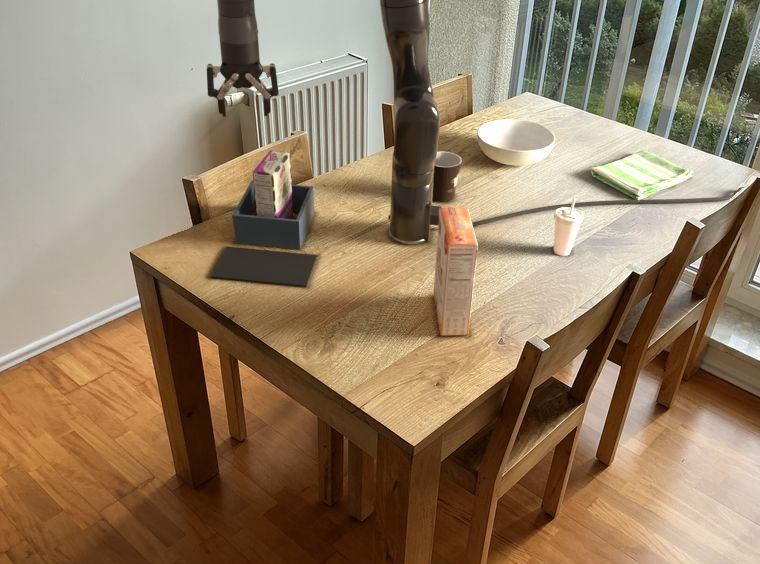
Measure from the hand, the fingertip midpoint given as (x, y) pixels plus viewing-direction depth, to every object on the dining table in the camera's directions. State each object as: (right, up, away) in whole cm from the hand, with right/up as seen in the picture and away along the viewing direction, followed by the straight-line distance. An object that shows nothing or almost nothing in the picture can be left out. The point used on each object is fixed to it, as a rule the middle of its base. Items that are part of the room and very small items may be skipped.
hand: (245, 115), depth 169 cm
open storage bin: (+4, -21, +15) cm, 26 cm away
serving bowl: (+62, +3, +51) cm, 81 cm away
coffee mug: (+43, -11, +32) cm, 55 cm away
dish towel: (+96, -3, +46) cm, 106 cm away
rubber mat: (+4, -32, +2) cm, 32 cm away
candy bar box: (+4, -22, +15) cm, 27 cm away
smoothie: (+69, -27, +14) cm, 75 cm away
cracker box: (+43, -43, -8) cm, 61 cm away
